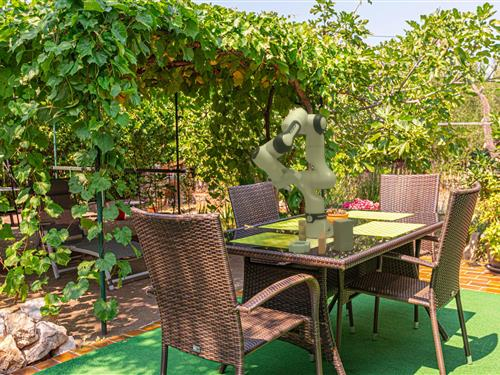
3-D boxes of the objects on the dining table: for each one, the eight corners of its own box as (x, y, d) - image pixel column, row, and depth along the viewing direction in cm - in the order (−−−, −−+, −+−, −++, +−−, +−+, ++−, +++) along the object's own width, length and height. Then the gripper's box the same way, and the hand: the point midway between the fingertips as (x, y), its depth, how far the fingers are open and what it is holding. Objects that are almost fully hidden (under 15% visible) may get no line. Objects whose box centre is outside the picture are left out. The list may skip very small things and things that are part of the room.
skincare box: (346, 248, 262) (346, 218, 261) (354, 251, 256) (354, 219, 255) (332, 250, 259) (332, 219, 258) (340, 252, 253) (339, 221, 251)
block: (288, 252, 254) (288, 245, 254) (291, 247, 268) (291, 240, 268) (308, 252, 252) (308, 246, 252) (310, 247, 266) (310, 240, 266)
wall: (318, 254, 249) (318, 238, 249) (320, 247, 267) (320, 232, 266) (324, 254, 249) (324, 238, 248) (326, 247, 266) (326, 232, 266)
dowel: (301, 245, 273) (301, 219, 272) (307, 246, 271) (307, 220, 270) (297, 246, 270) (296, 220, 269) (303, 247, 268) (303, 221, 267)
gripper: (291, 162, 253) (311, 179, 256) (270, 172, 270) (288, 188, 274) (286, 171, 250) (306, 188, 253) (264, 181, 267) (283, 197, 271)
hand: (297, 188), depth 264 cm, fingers open, 8 cm apart
